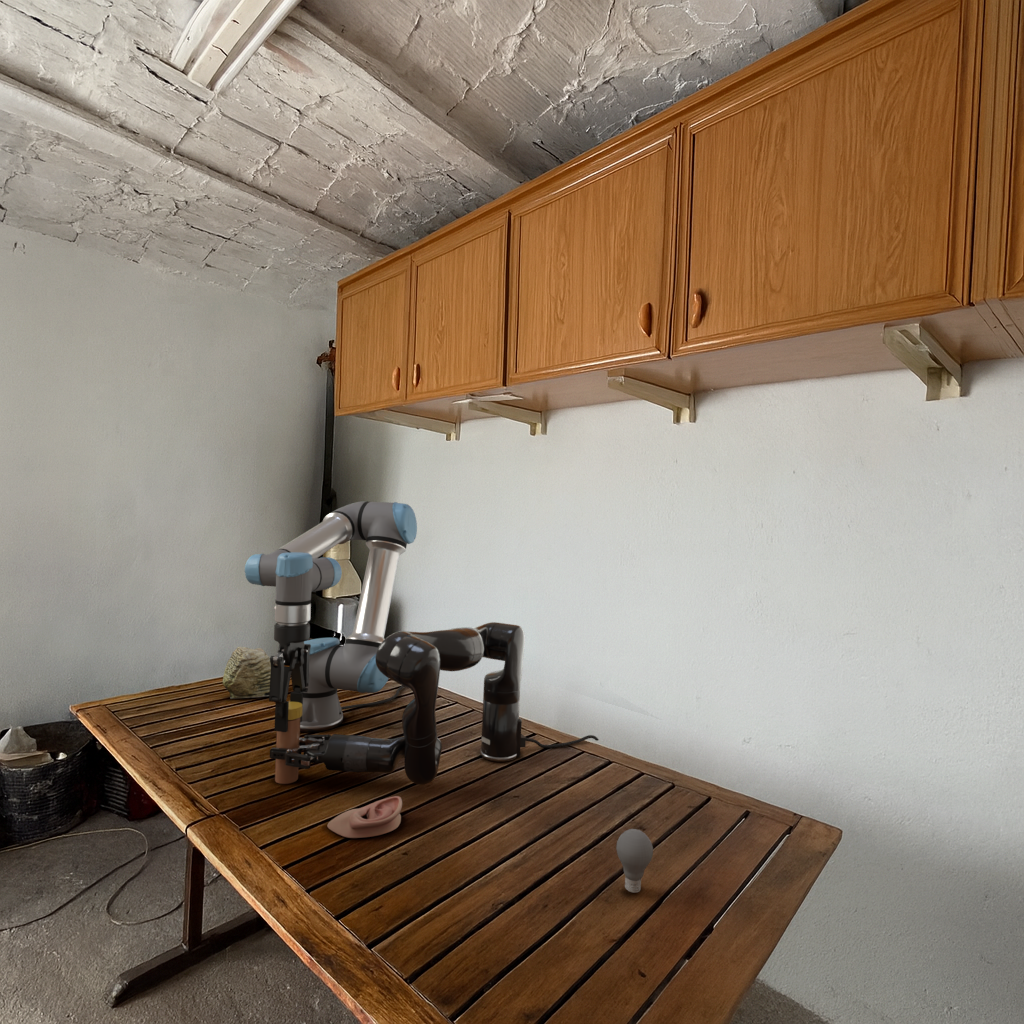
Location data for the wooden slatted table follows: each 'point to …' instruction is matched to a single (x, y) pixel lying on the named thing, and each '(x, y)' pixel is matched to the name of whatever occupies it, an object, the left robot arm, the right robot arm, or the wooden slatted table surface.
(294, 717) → the lid
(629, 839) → the light bulb
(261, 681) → the fossil
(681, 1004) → the wooden slatted table surface
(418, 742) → the right robot arm
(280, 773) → the jar
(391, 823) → the anatomical model
